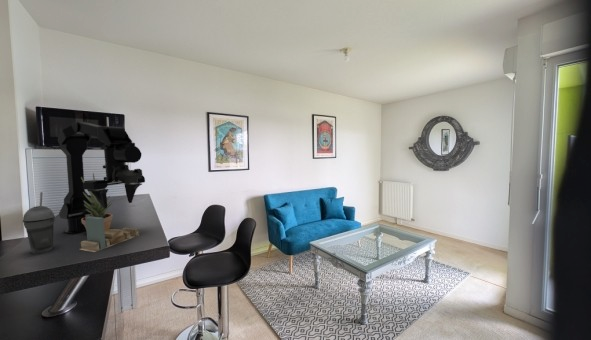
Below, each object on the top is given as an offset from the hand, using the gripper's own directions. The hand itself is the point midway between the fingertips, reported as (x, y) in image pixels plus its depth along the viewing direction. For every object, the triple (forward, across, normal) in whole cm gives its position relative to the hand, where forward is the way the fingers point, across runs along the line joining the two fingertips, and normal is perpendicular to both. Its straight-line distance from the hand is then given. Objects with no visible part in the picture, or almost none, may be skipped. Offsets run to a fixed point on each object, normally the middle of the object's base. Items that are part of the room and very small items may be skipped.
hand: (118, 205), depth 91 cm
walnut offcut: (+12, -4, -1) cm, 12 cm away
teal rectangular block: (+12, -9, -1) cm, 15 cm away
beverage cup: (+13, -16, +13) cm, 24 cm away
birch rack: (+13, -4, -1) cm, 14 cm away
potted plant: (+13, +2, +14) cm, 19 cm away
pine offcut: (+10, -4, -1) cm, 11 cm away
